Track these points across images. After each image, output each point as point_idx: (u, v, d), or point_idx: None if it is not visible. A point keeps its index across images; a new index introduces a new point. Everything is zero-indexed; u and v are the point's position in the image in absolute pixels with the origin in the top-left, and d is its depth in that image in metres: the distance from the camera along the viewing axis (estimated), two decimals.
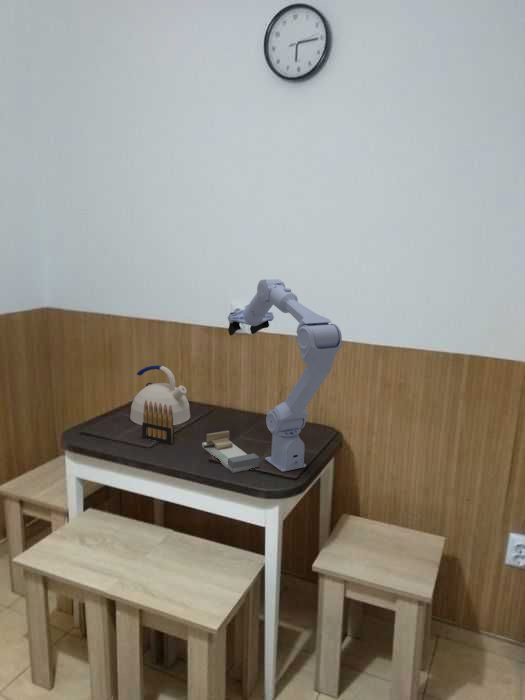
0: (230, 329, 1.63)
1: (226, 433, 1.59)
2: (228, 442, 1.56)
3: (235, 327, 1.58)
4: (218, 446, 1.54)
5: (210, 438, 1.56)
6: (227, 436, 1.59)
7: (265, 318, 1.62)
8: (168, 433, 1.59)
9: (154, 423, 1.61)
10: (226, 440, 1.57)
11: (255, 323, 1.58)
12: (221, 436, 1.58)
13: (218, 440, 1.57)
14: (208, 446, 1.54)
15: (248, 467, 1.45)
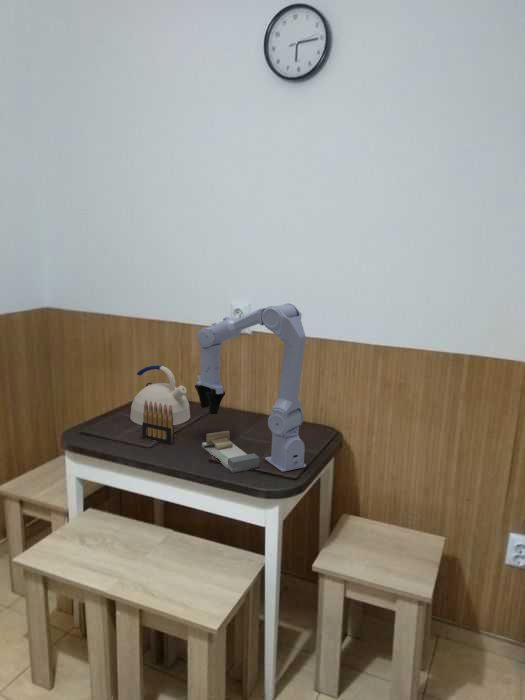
0: (214, 408, 1.59)
1: (226, 433, 1.59)
2: (228, 442, 1.56)
3: (223, 392, 1.58)
4: (218, 446, 1.54)
5: (210, 438, 1.56)
6: (227, 436, 1.59)
7: None
8: (168, 433, 1.59)
9: (154, 423, 1.61)
10: (226, 440, 1.57)
11: None
12: (221, 436, 1.58)
13: (218, 440, 1.57)
14: (208, 446, 1.54)
15: (248, 467, 1.45)
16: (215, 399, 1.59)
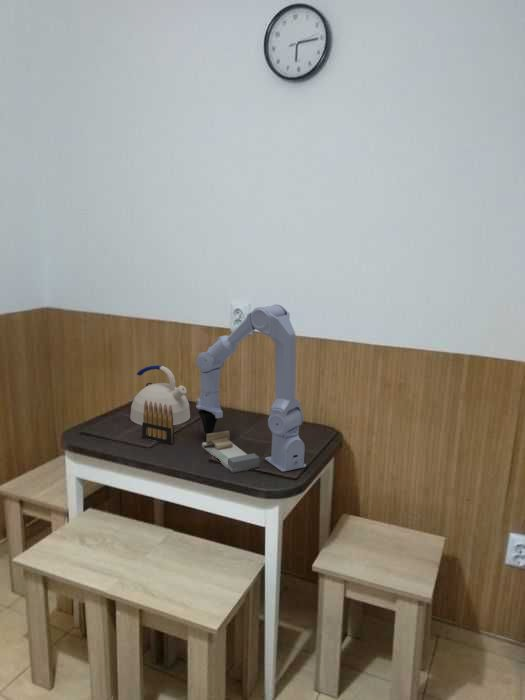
0: (209, 428, 1.63)
1: (226, 433, 1.59)
2: (228, 442, 1.56)
3: None
4: (218, 446, 1.54)
5: (210, 438, 1.56)
6: (227, 436, 1.59)
7: None
8: (168, 433, 1.59)
9: (154, 423, 1.61)
10: (226, 440, 1.57)
11: None
12: (221, 436, 1.58)
13: (218, 440, 1.57)
14: (208, 446, 1.54)
15: (248, 467, 1.45)
16: (210, 420, 1.63)
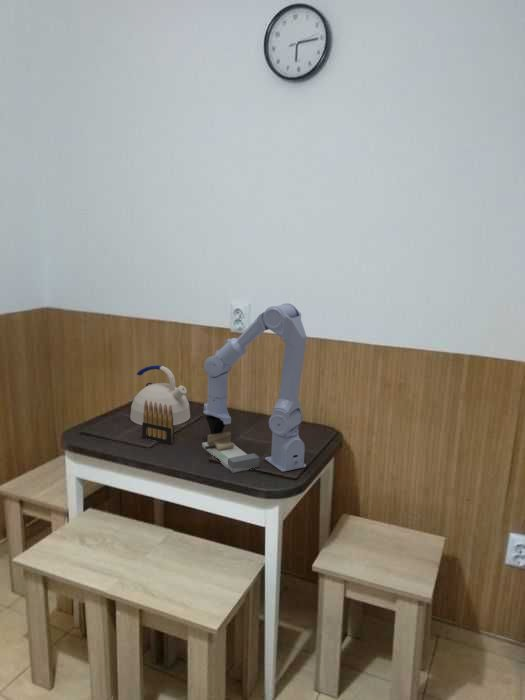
0: None
1: (227, 434, 1.58)
2: (229, 443, 1.55)
3: None
4: (219, 447, 1.53)
5: (211, 439, 1.56)
6: (228, 437, 1.59)
7: None
8: (168, 433, 1.59)
9: (154, 423, 1.61)
10: (227, 441, 1.57)
11: None
12: (222, 437, 1.58)
13: (219, 441, 1.56)
14: (209, 447, 1.53)
15: (248, 467, 1.45)
16: (218, 425, 1.58)
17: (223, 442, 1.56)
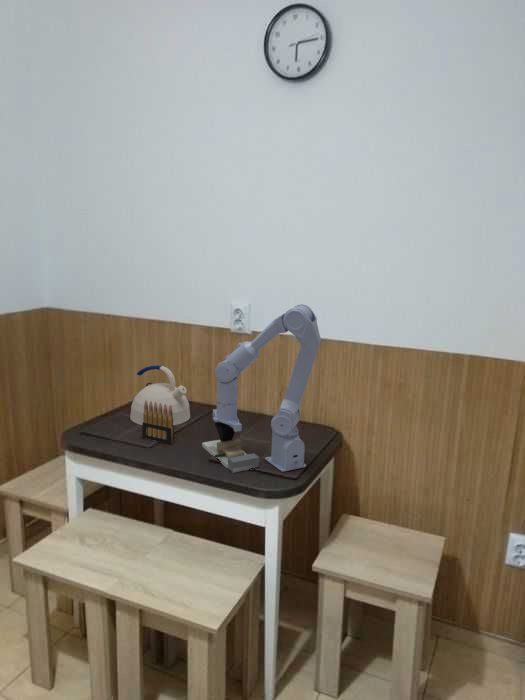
0: None
1: (238, 441, 1.53)
2: (240, 451, 1.50)
3: None
4: (229, 455, 1.48)
5: (221, 447, 1.50)
6: (238, 444, 1.53)
7: None
8: (168, 433, 1.59)
9: (154, 423, 1.61)
10: (237, 449, 1.51)
11: None
12: (232, 445, 1.52)
13: (229, 449, 1.51)
14: (219, 455, 1.48)
15: (248, 467, 1.45)
16: (228, 432, 1.53)
17: (233, 450, 1.50)
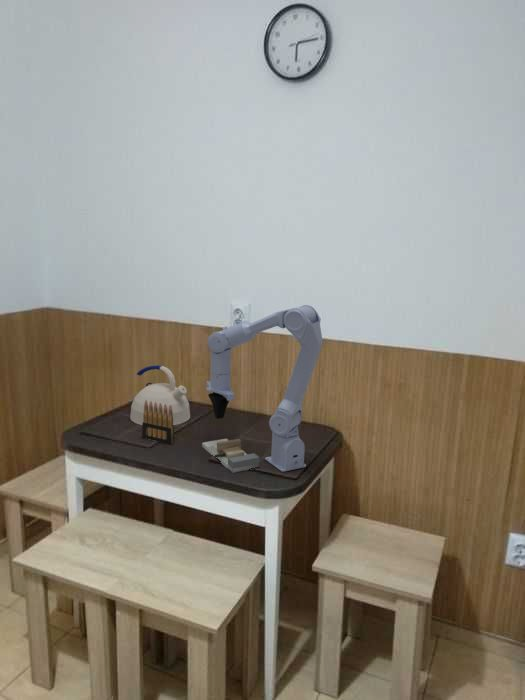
0: (220, 412, 1.56)
1: (238, 441, 1.53)
2: (240, 451, 1.50)
3: None
4: (229, 455, 1.48)
5: (221, 447, 1.50)
6: (238, 444, 1.53)
7: None
8: (168, 433, 1.59)
9: (154, 423, 1.61)
10: (237, 449, 1.51)
11: None
12: (232, 445, 1.52)
13: (229, 449, 1.51)
14: (219, 455, 1.48)
15: (248, 467, 1.45)
16: (221, 403, 1.55)
17: (233, 450, 1.50)
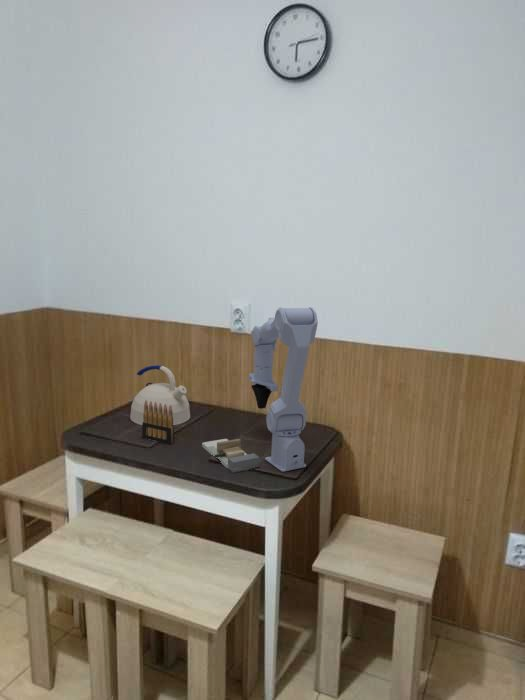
0: (262, 403, 1.66)
1: (238, 441, 1.53)
2: (240, 451, 1.50)
3: None
4: (229, 455, 1.48)
5: (221, 447, 1.50)
6: (238, 444, 1.53)
7: None
8: (168, 433, 1.59)
9: (154, 423, 1.61)
10: (237, 449, 1.51)
11: None
12: (232, 445, 1.52)
13: (229, 449, 1.51)
14: (219, 455, 1.48)
15: (248, 467, 1.45)
16: (264, 394, 1.66)
17: (233, 450, 1.50)
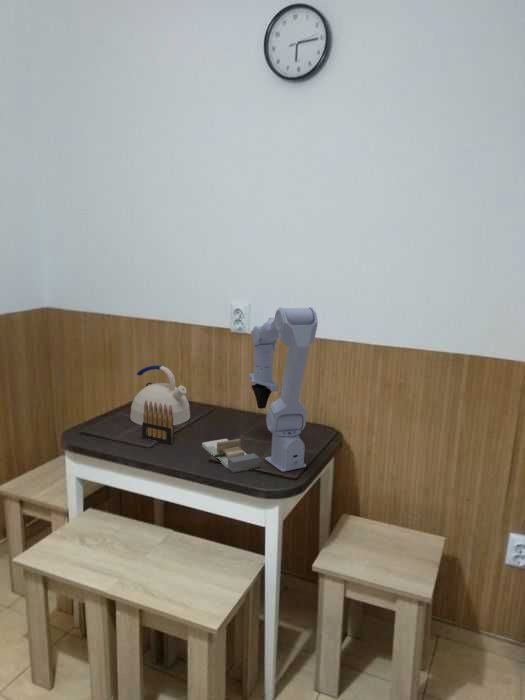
0: (262, 403, 1.66)
1: (238, 441, 1.53)
2: (240, 451, 1.50)
3: None
4: (229, 455, 1.48)
5: (221, 447, 1.50)
6: (238, 444, 1.53)
7: None
8: (168, 433, 1.59)
9: (154, 423, 1.61)
10: (237, 449, 1.51)
11: None
12: (232, 445, 1.52)
13: (229, 449, 1.51)
14: (219, 455, 1.48)
15: (248, 467, 1.45)
16: (264, 394, 1.66)
17: (233, 450, 1.50)
